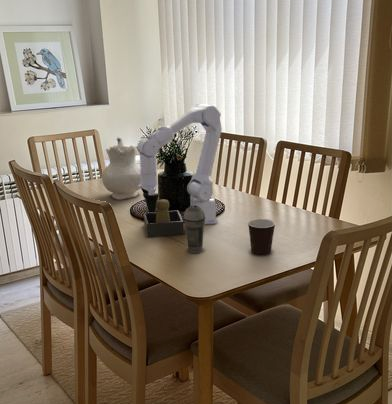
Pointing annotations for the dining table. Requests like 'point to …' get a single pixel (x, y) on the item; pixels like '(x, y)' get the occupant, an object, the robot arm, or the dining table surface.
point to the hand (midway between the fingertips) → (150, 209)
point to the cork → (162, 211)
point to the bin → (163, 225)
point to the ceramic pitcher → (122, 171)
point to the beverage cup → (194, 227)
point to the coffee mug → (261, 236)
